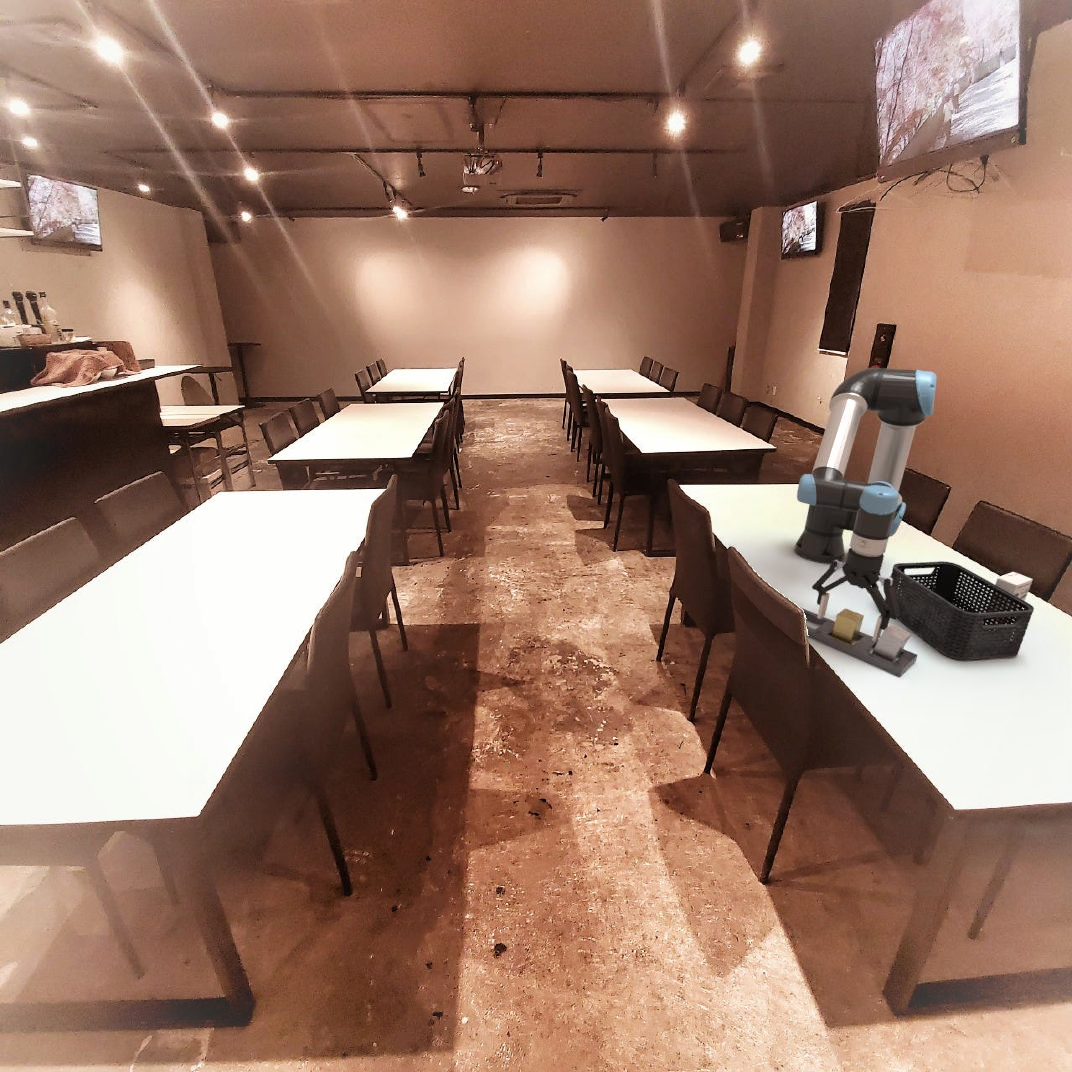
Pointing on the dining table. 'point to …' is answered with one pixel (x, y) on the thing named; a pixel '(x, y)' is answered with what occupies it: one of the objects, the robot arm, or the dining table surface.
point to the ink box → (1014, 585)
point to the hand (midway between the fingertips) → (847, 627)
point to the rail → (858, 646)
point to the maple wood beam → (847, 626)
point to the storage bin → (960, 611)
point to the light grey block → (891, 643)
